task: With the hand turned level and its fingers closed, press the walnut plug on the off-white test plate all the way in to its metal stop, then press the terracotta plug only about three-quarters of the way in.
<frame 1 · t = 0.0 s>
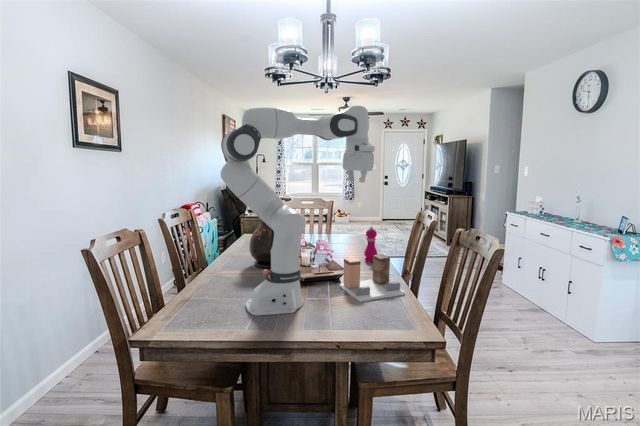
hand: (356, 181, 146), 48 cm above the table, tool pointing down, fingers open, 8 cm apart
test plate: (371, 290, 157), on the table
walnut plug: (381, 269, 163), point 8 cm above the table, slide at 0.0 cm
terracotta plug: (351, 272, 157), point 8 cm above the table, slide at 0.0 cm
pepper mill: (370, 261, 201), on the table
amphora vase: (269, 265, 193), on the table
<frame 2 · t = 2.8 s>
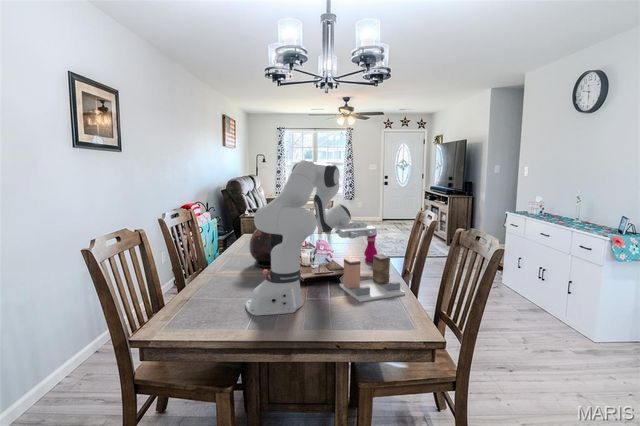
hand: (364, 235, 175), 20 cm above the table, tool horizontal, fingers open, 6 cm apart
nothing on the table moved.
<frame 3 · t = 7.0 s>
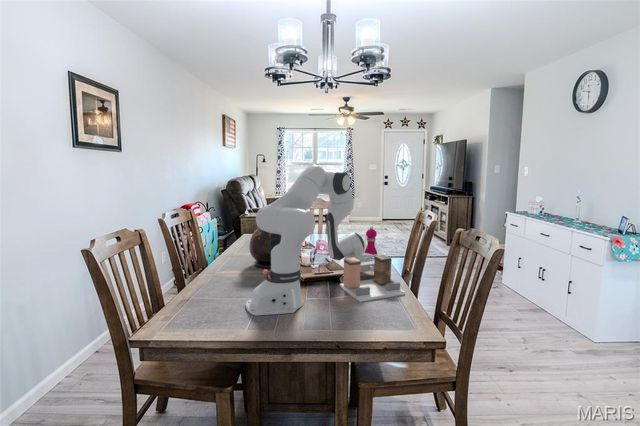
hand: (378, 270, 164), 6 cm above the table, tool horizontal, fingers closed, pressing on walnut plug
walnut plug: (382, 269, 162), point 7 cm above the table, slide at 1.2 cm, touching gripper
everything else where it was.
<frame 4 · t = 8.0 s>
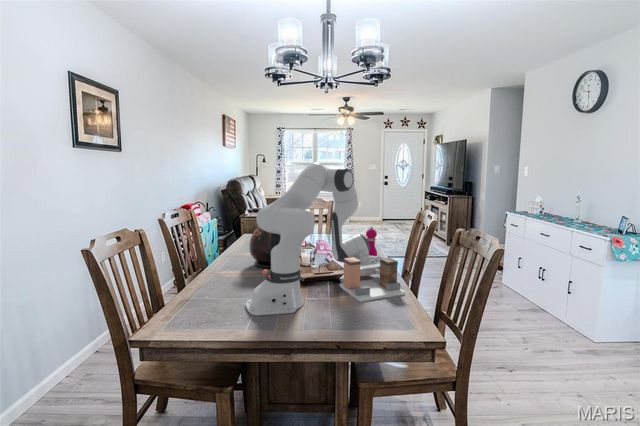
hand: (384, 273, 160), 6 cm above the table, tool horizontal, fingers closed, pressing on walnut plug
walnut plug: (388, 273, 157), point 7 cm above the table, slide at 6.1 cm, touching gripper
everything else where it was.
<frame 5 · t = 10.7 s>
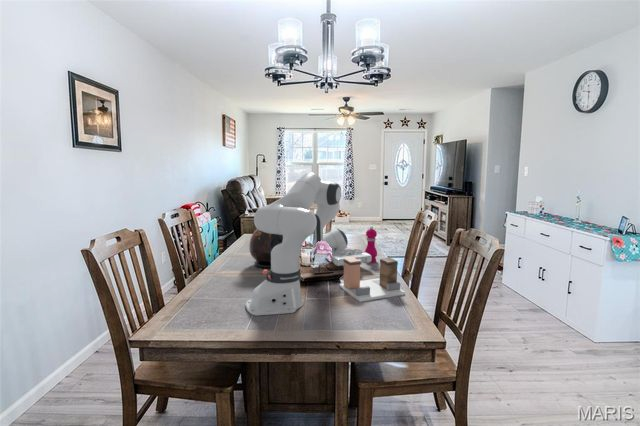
hand: (359, 263, 176), 6 cm above the table, tool horizontal, fingers closed
walnut plug: (388, 273, 157), point 8 cm above the table, slide at 6.0 cm
everything else where it was.
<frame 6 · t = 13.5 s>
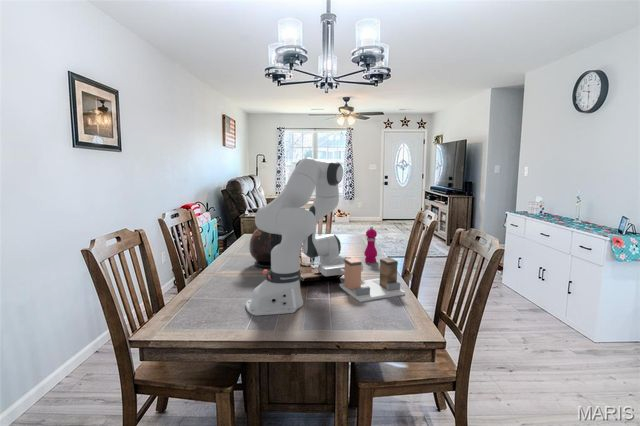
hand: (349, 273, 159), 6 cm above the table, tool horizontal, fingers closed, pressing on terracotta plug
terracotta plug: (352, 273, 156), point 7 cm above the table, slide at 0.9 cm, touching gripper
everything else where it was.
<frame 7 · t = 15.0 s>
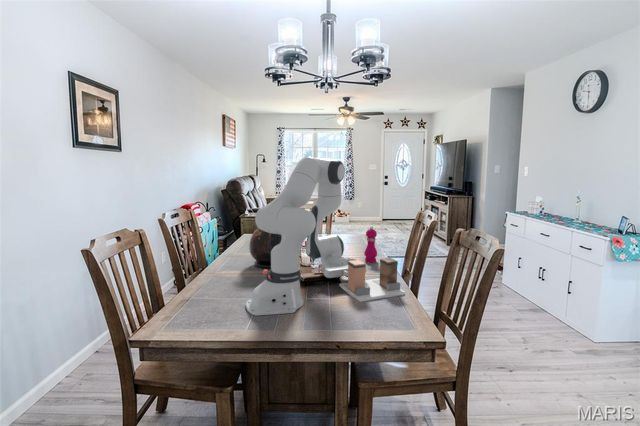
hand: (352, 275, 157), 7 cm above the table, tool horizontal, fingers closed
terracotta plug: (356, 275, 153), point 8 cm above the table, slide at 4.4 cm
everything else where it was.
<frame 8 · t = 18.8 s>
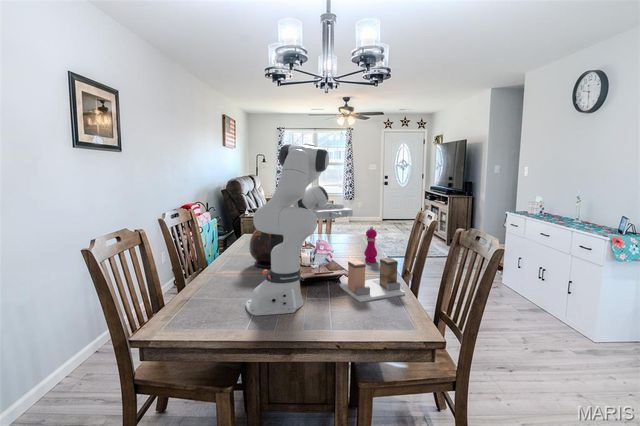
hand: (339, 215, 173), 30 cm above the table, tool horizontal, fingers closed
nothing on the table moved.
at the end: walnut plug slide at 6.0 cm; terracotta plug slide at 4.4 cm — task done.
